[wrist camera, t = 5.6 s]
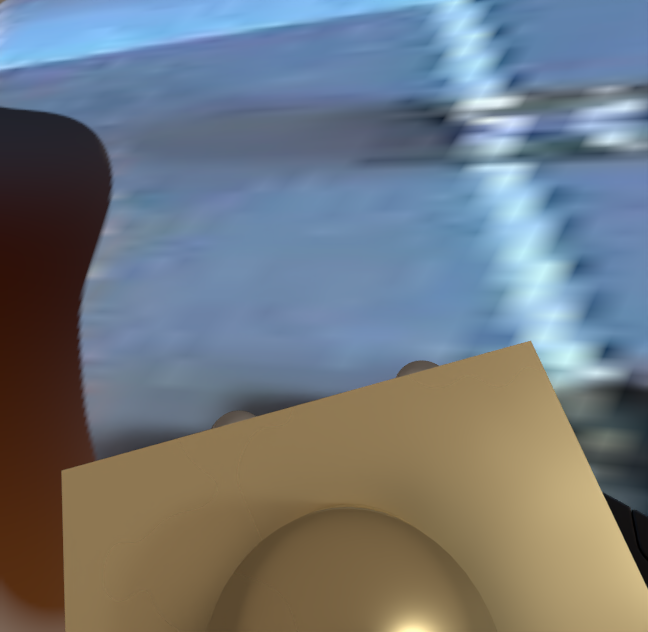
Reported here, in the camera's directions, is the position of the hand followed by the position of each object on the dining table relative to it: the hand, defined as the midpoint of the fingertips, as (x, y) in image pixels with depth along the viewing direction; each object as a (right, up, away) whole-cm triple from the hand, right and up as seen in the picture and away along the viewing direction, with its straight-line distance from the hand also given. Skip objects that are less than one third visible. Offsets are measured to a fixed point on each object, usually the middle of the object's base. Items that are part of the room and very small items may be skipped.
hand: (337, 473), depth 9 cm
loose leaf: (+1, -4, +6) cm, 7 cm away
